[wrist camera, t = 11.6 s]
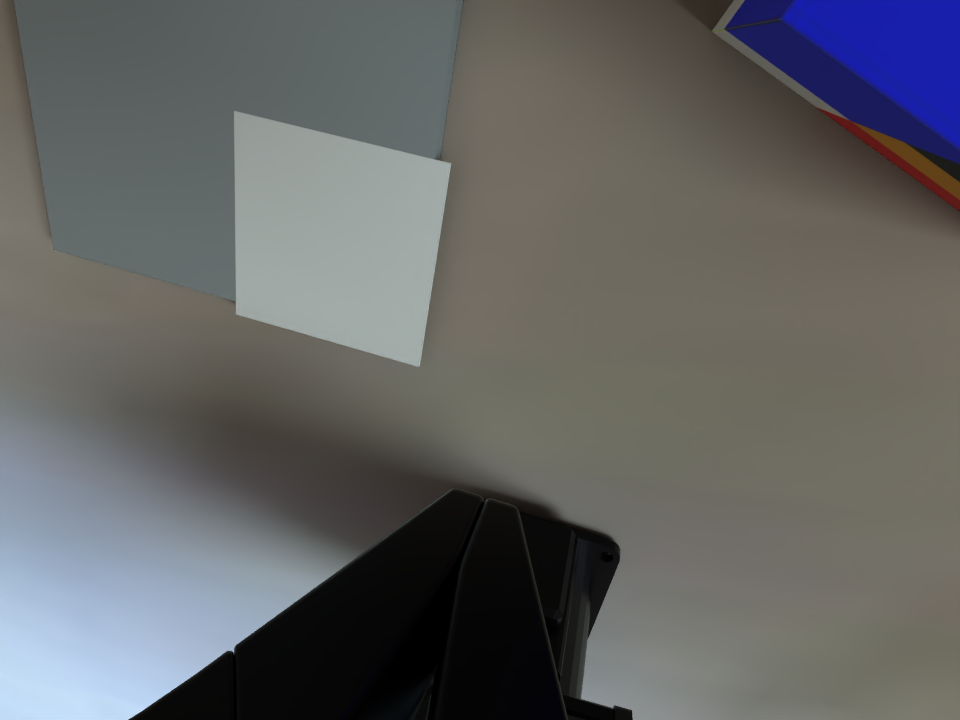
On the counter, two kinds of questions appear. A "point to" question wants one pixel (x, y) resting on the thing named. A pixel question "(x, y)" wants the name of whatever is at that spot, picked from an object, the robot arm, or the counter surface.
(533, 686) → the robot arm
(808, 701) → the counter surface
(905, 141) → the puzzle toy
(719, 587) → the counter surface
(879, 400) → the counter surface
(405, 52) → the mat
